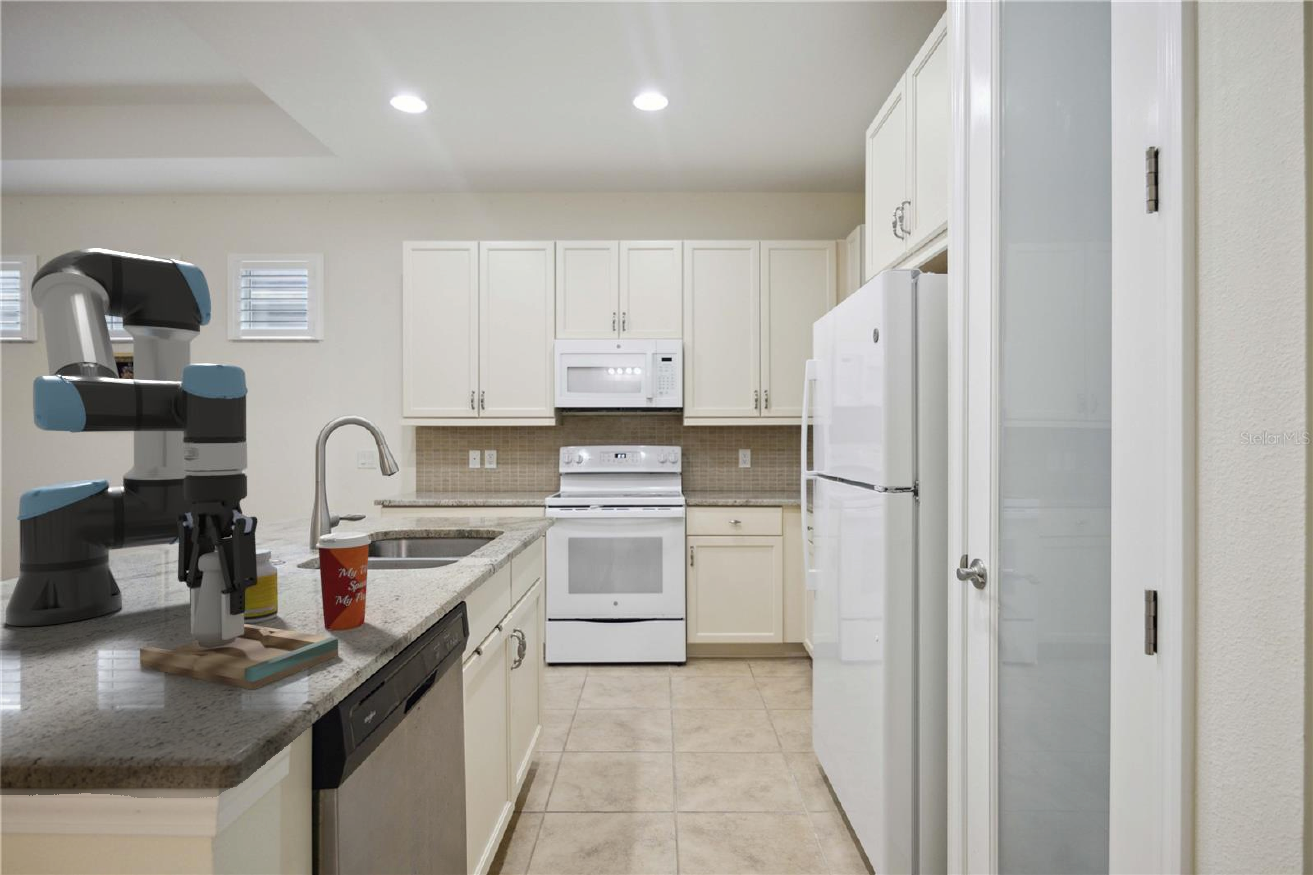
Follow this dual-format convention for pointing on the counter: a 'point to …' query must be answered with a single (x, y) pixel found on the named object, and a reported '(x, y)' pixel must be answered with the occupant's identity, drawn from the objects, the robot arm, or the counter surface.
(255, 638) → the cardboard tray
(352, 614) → the coffee cup
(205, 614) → the salt shaker
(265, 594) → the pill bottle
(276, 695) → the counter surface
